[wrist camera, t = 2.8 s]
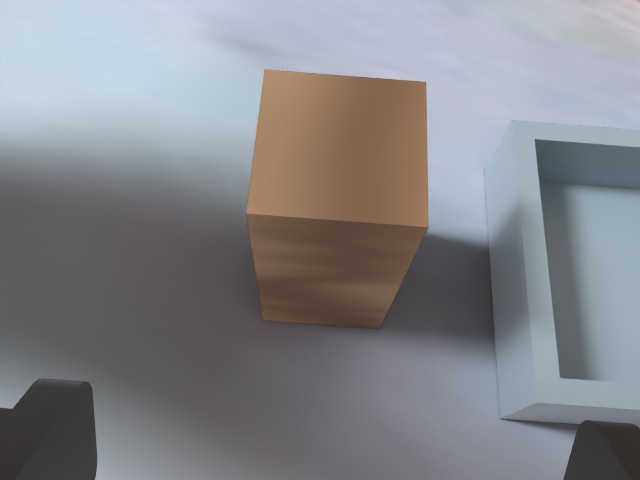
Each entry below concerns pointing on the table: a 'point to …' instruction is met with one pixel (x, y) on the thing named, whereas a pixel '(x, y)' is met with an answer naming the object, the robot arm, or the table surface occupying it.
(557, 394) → the tray
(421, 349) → the table surface
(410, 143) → the block
